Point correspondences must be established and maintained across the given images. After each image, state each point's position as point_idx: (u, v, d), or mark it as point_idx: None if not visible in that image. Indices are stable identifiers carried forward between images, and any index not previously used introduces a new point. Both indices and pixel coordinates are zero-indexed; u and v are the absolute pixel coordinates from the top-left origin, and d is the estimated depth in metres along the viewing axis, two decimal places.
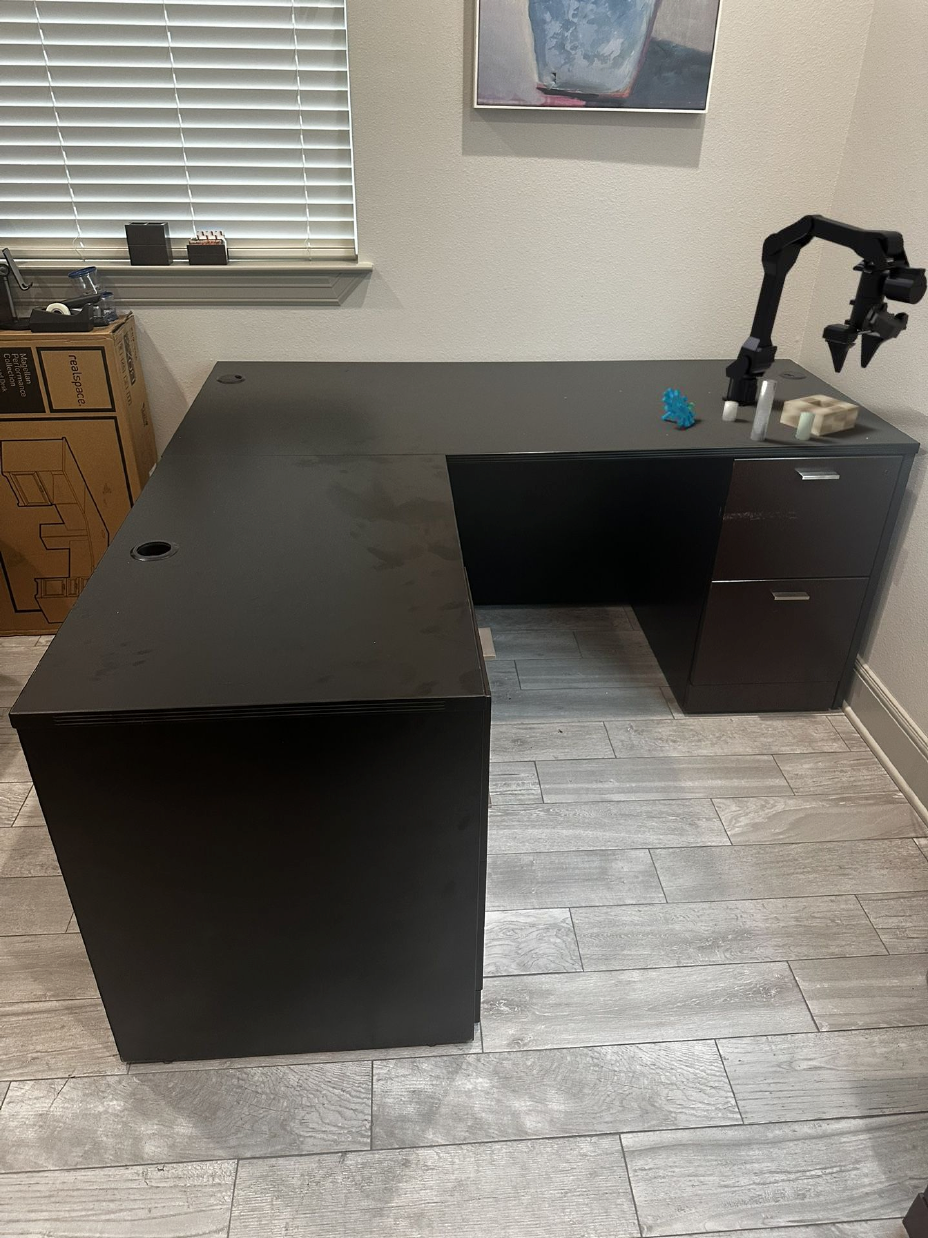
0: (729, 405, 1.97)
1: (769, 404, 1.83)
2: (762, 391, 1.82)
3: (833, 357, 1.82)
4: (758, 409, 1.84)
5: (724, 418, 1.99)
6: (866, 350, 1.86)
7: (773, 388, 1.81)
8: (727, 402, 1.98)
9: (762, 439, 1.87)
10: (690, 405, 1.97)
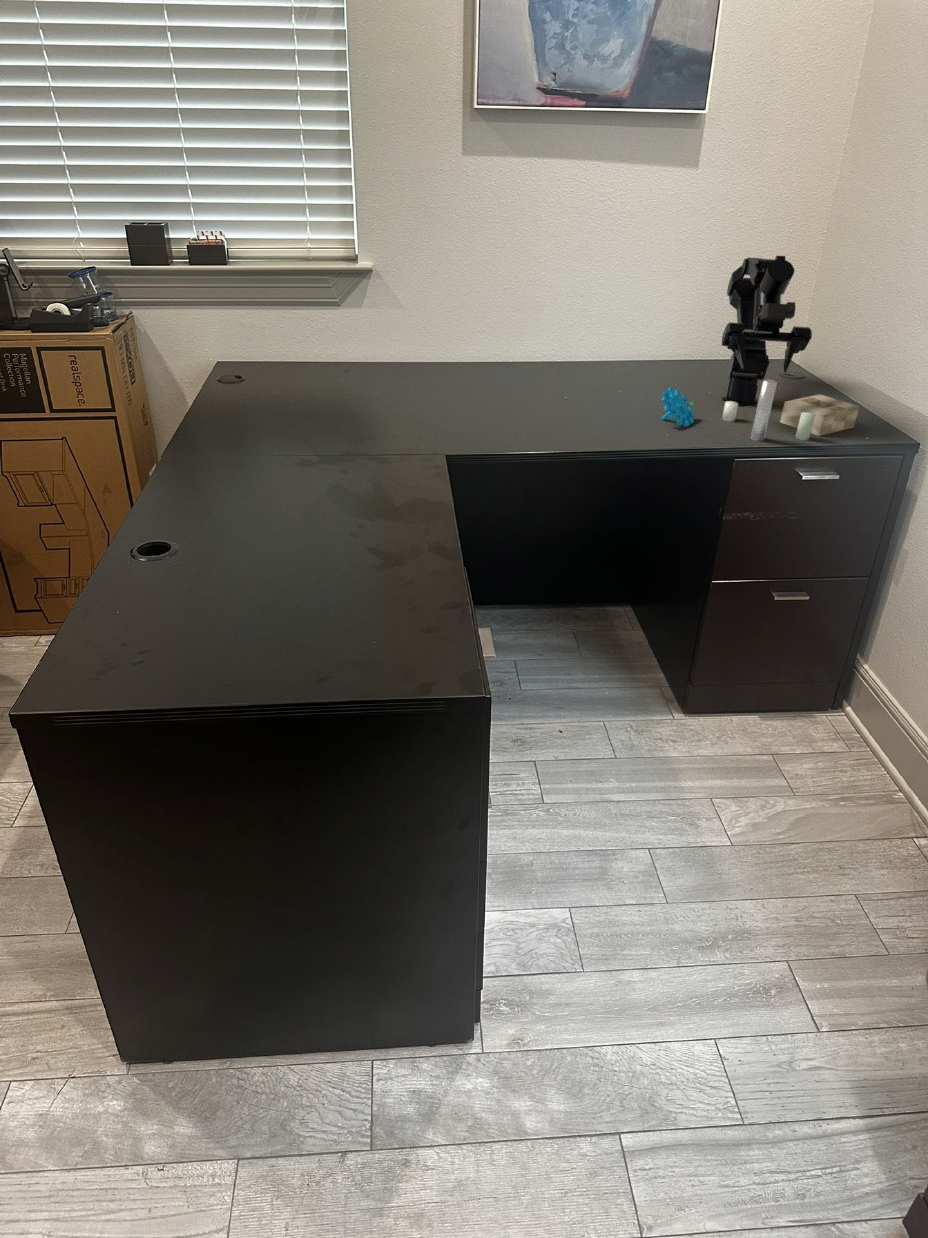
0: (729, 405, 1.97)
1: (769, 404, 1.83)
2: (762, 391, 1.82)
3: (738, 358, 1.91)
4: (758, 409, 1.84)
5: (724, 418, 1.99)
6: (785, 357, 1.89)
7: (773, 388, 1.81)
8: (727, 402, 1.98)
9: (762, 439, 1.87)
10: (690, 405, 1.97)
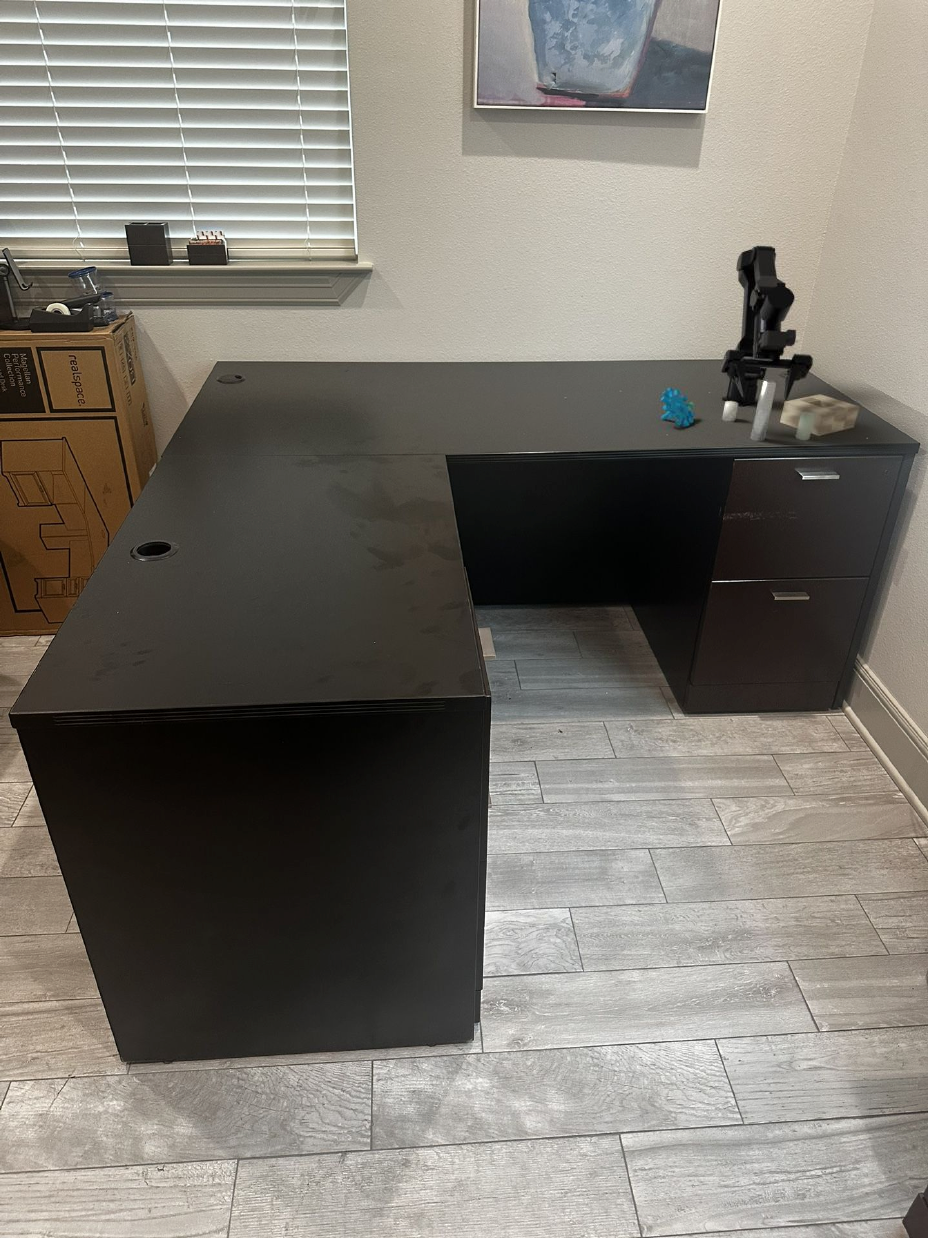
0: (729, 405, 1.97)
1: (769, 404, 1.83)
2: (762, 391, 1.82)
3: (737, 385, 1.87)
4: (758, 409, 1.84)
5: (724, 418, 1.99)
6: (786, 385, 1.86)
7: (773, 388, 1.81)
8: (727, 402, 1.98)
9: (762, 439, 1.87)
10: (690, 405, 1.97)
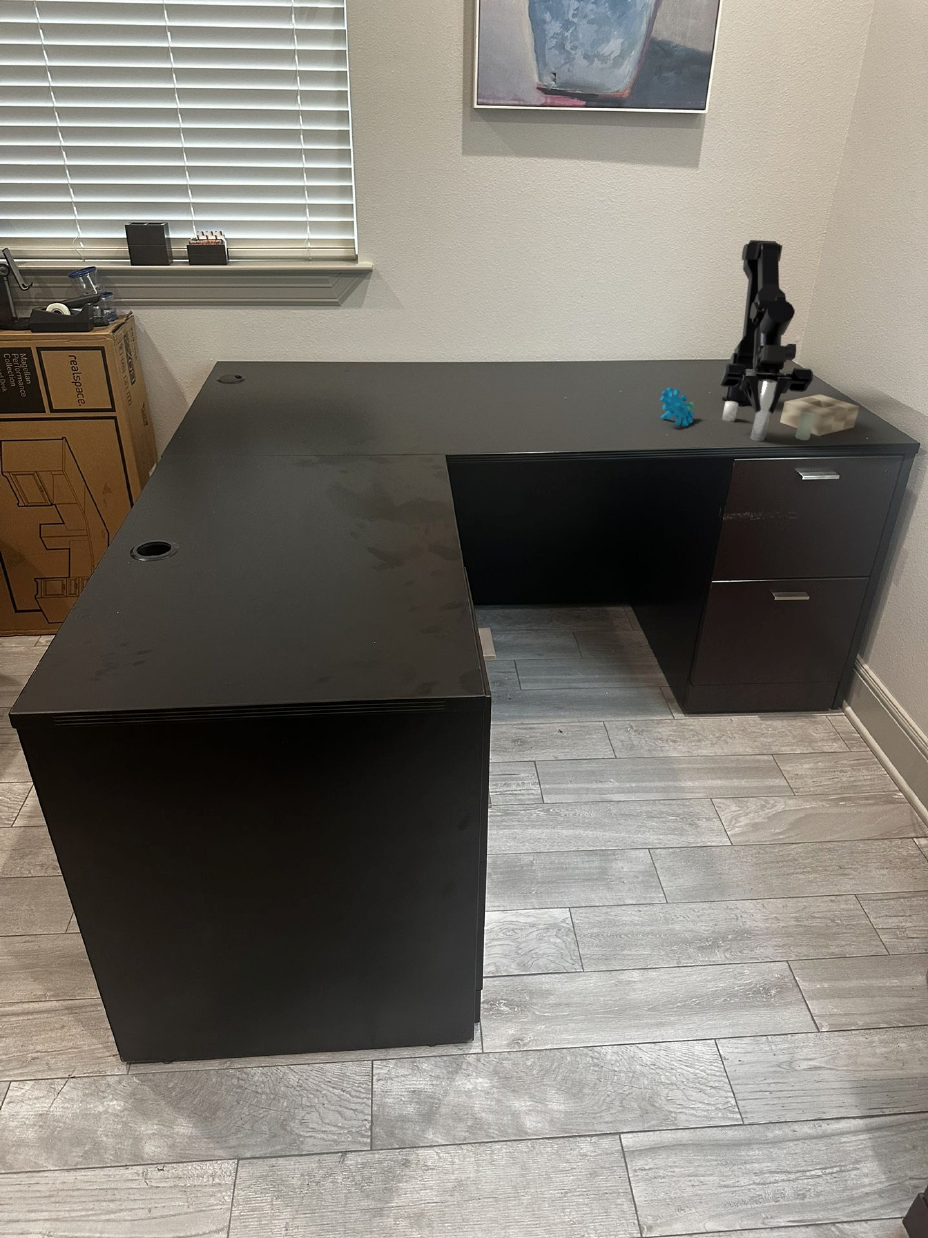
0: (729, 405, 1.97)
1: (769, 404, 1.83)
2: (762, 391, 1.82)
3: (750, 400, 1.86)
4: (758, 409, 1.84)
5: (724, 418, 1.99)
6: None
7: (773, 387, 1.81)
8: (727, 402, 1.98)
9: (762, 439, 1.87)
10: (689, 405, 1.97)
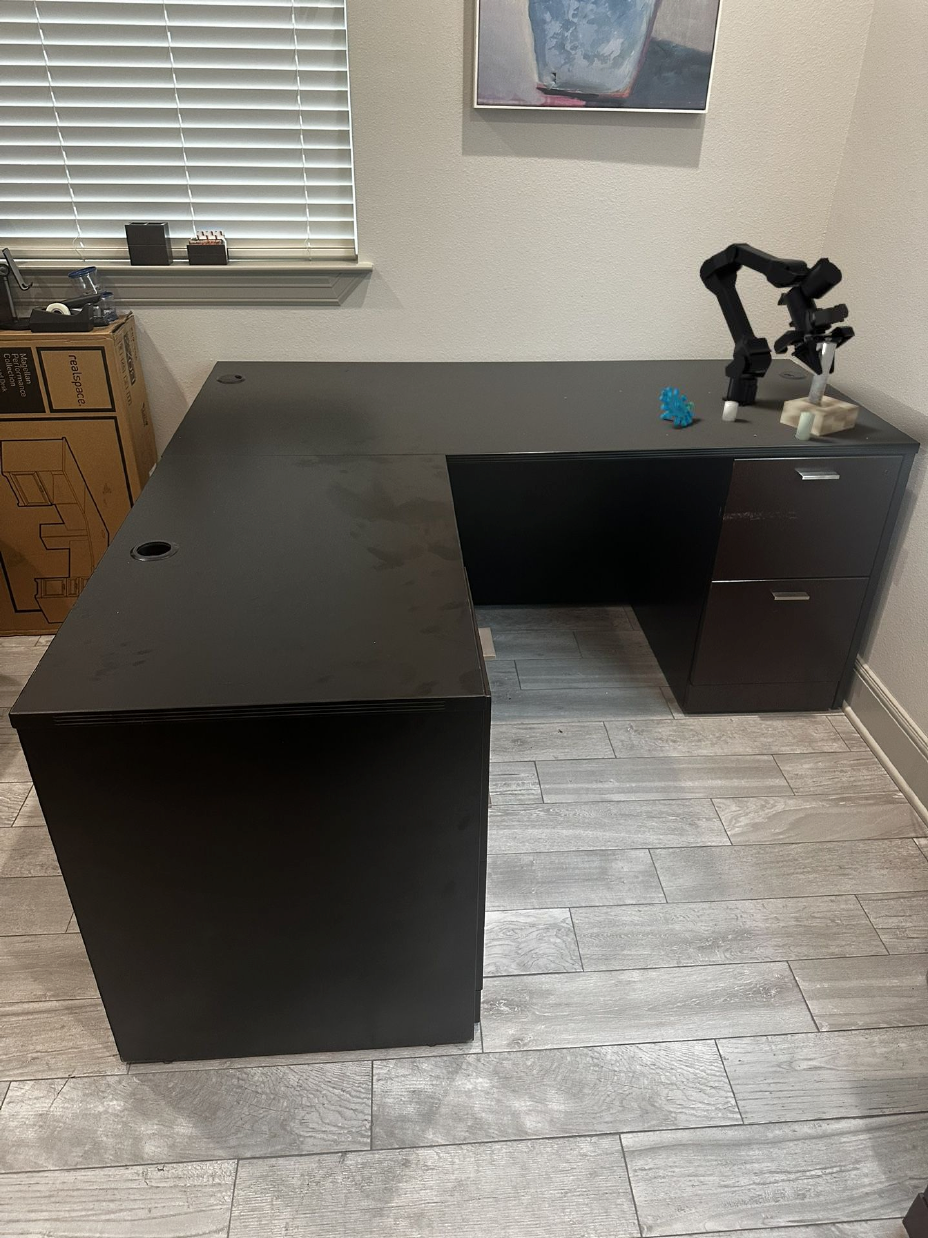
0: (729, 405, 1.97)
1: (830, 365, 1.85)
2: (825, 353, 1.84)
3: (808, 364, 1.87)
4: None
5: (724, 418, 1.99)
6: None
7: (835, 348, 1.84)
8: (727, 402, 1.98)
9: (821, 400, 1.90)
10: (689, 405, 1.97)
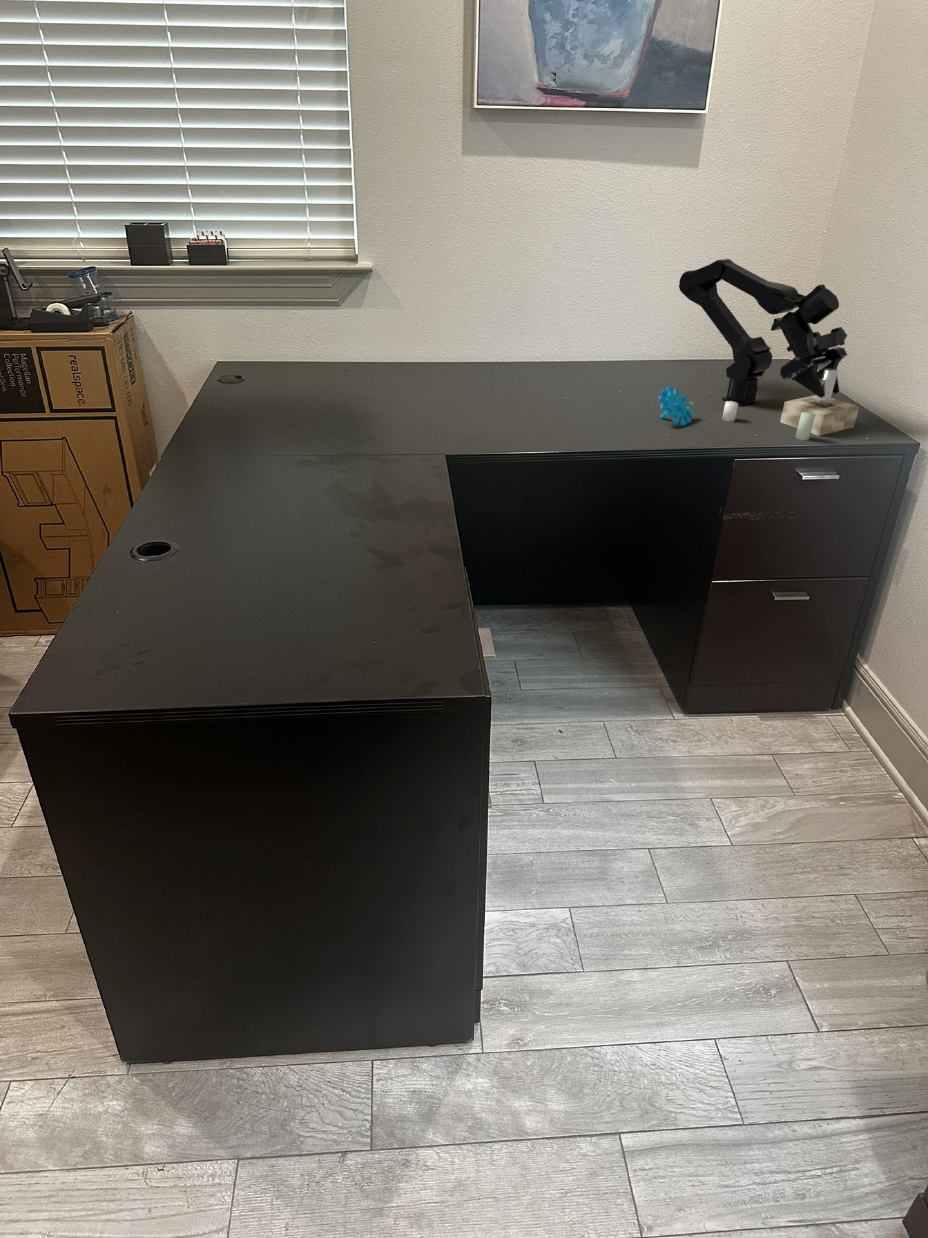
0: (729, 405, 1.97)
1: (832, 390, 1.93)
2: (828, 380, 1.91)
3: (810, 388, 1.92)
4: (824, 397, 1.93)
5: (724, 418, 1.99)
6: None
7: (836, 375, 1.92)
8: (727, 402, 1.98)
9: None
10: (689, 404, 1.97)
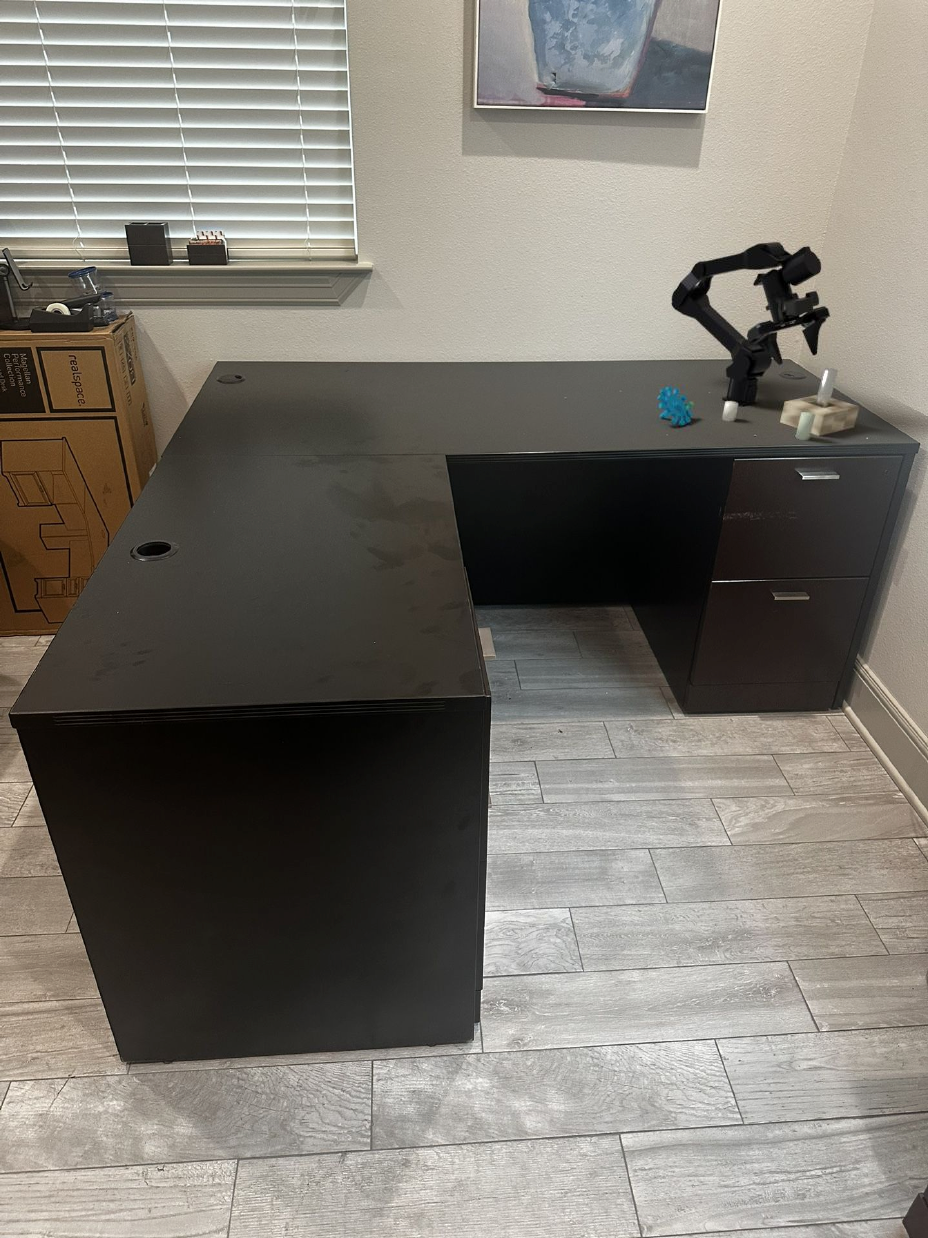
0: (729, 405, 1.97)
1: (832, 390, 1.93)
2: (828, 380, 1.91)
3: (770, 354, 1.96)
4: (823, 397, 1.93)
5: (724, 418, 1.99)
6: (810, 340, 1.97)
7: (836, 375, 1.92)
8: (727, 402, 1.98)
9: None
10: (688, 404, 1.97)
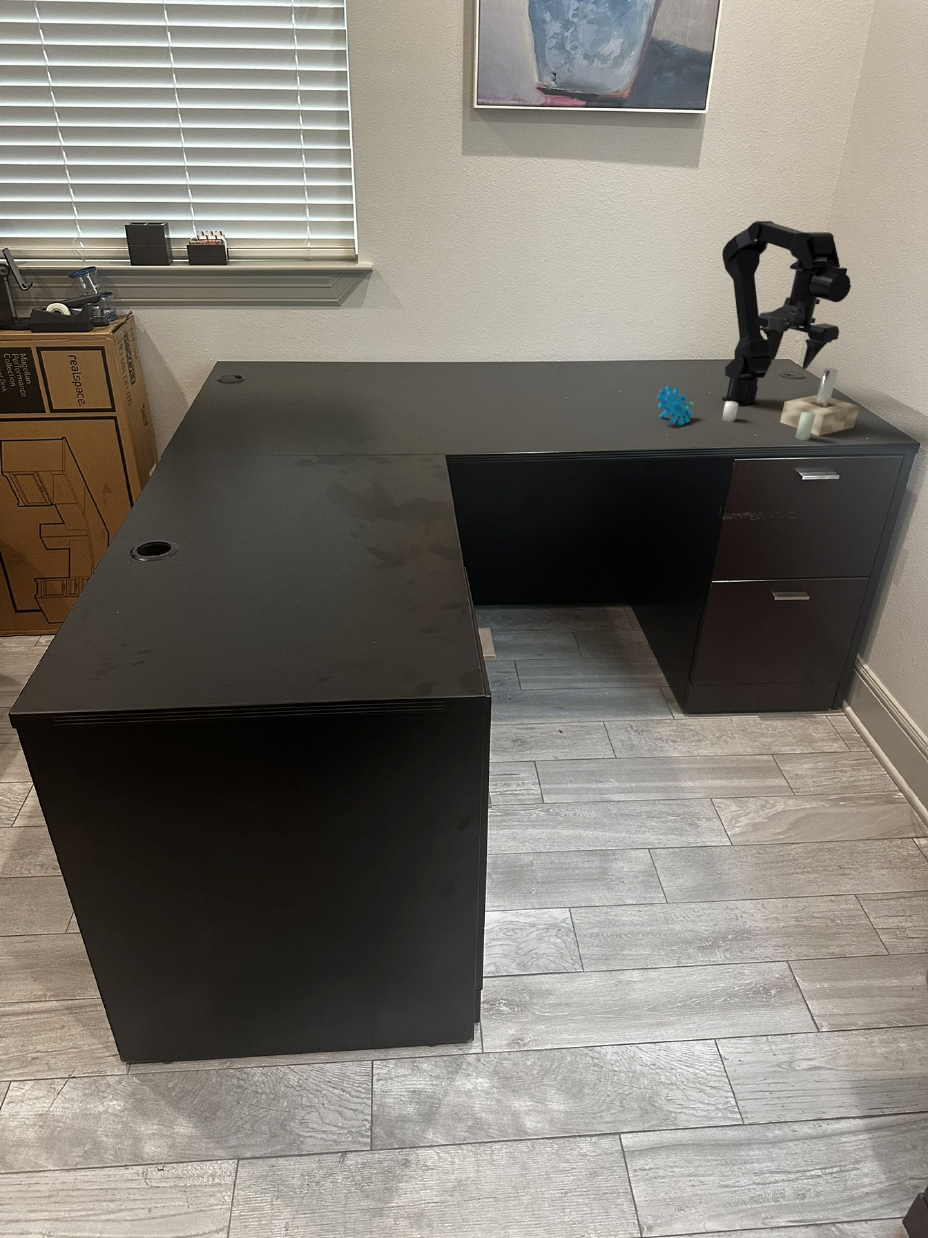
0: (729, 405, 1.97)
1: (832, 390, 1.93)
2: (828, 380, 1.91)
3: None
4: (823, 397, 1.93)
5: (724, 418, 1.99)
6: None
7: (836, 375, 1.92)
8: (727, 402, 1.98)
9: None
10: (688, 404, 1.97)
